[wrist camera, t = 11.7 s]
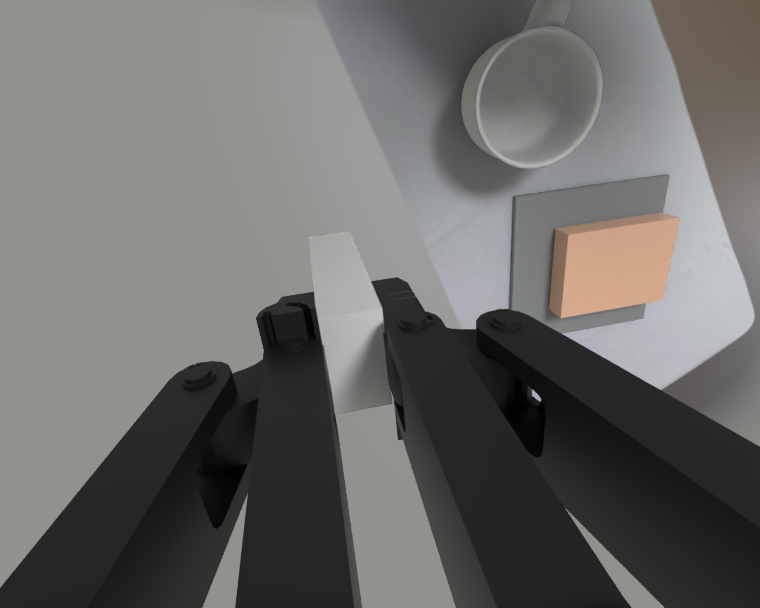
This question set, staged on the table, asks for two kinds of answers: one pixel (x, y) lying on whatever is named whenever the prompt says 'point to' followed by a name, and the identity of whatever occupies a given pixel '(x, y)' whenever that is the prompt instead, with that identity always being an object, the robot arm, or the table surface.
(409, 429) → the robot arm
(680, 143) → the table surface
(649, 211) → the mat
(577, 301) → the tile
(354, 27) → the table surface
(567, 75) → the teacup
